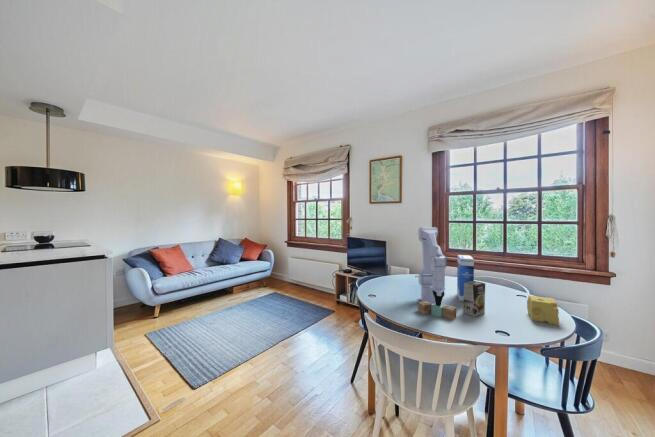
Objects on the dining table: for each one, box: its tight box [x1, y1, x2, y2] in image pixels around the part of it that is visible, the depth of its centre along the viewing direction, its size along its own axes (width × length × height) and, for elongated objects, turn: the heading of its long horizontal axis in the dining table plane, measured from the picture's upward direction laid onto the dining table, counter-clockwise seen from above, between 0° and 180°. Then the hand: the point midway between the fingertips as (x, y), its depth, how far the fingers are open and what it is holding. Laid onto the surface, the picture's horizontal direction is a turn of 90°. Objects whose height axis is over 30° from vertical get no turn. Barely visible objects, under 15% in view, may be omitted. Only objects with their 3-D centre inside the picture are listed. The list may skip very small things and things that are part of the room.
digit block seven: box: [441, 304, 457, 321], centre depth 125 cm, size 5×5×5 cm
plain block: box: [430, 302, 446, 318], centre depth 127 cm, size 5×5×5 cm
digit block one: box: [417, 300, 433, 315], centre depth 131 cm, size 5×5×5 cm
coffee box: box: [462, 280, 486, 317], centre depth 129 cm, size 9×6×16 cm
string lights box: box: [456, 254, 475, 302], centre depth 151 cm, size 13×8×26 cm, turn 158°
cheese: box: [526, 294, 560, 326], centre depth 123 cm, size 10×11×10 cm
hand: (438, 305), depth 127 cm, fingers closed, pressing on plain block
